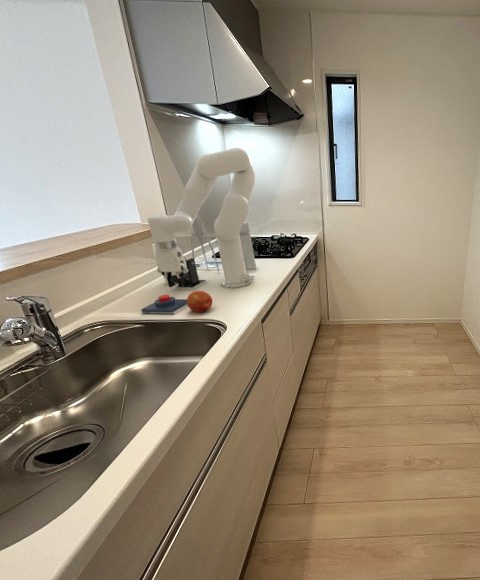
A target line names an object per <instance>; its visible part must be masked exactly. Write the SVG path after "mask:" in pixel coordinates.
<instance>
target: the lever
mask: <svg viewBox="0 0 480 580" xmlns="http://www.w3.org/2000/svg"><path fill="white" fill-rule="evenodd" d="M188 259H189V258H188ZM188 259H187V258H185V261H186V260H188ZM182 271H183V269H182ZM179 274H180V273H179ZM177 279H178V278H177V276H176V275H173V276H171V278H170V281H171V282H172V283H175V284H178V283H177Z"/></svg>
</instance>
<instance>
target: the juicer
mask: <svg viewBox="0 0 480 580" xmlns="http://www.w3.org/2000/svg"><path fill="white" fill-rule="evenodd" d="M192 229H193V232H191V241H190V244H191V245H190V246H191V255H192V258H194V262H195V266H196V267H197V264H196V257H195V246H194V243H195V237H196V238H197V240H198V241H199V243H200V246H201V250H202V255H203V258H204V261H205V266H206V270H209V265H208V261H207V257H206V252H205V251H206V250H205V247H204V241H203V236H204V237H205V239H206V240H207V241H206V242H207V243H208V245H209V247H210V250H211V253H212V256H213V259H214V261H215V266H216V268H217V269H216V270H217V272H218V273H220V269H219V264H218V261H217V257H216V254H215V251H214V247H213V245H212V242H211V240H210V238H209V236H208V234H207V232H206V231H203V224H202V221H201V218H200V217H199V216H198V215H197V216H196V218H195V220H194V222H193V225H192ZM196 270H197V268H196ZM197 271H198V270H197Z"/></svg>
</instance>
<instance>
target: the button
mask: <svg viewBox="0 0 480 580" xmlns="http://www.w3.org/2000/svg"><path fill="white" fill-rule="evenodd" d="M170 297H171V296H170V294H163V295H159V296H158V298H157V299H159V302H166V301H169V300H171V299H170Z"/></svg>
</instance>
